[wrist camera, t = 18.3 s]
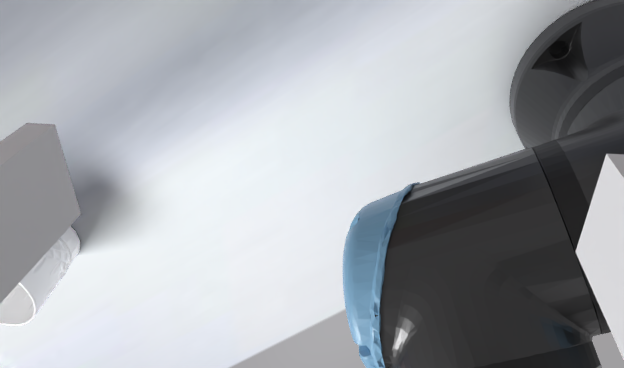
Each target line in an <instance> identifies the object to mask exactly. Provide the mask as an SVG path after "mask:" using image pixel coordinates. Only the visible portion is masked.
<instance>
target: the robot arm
mask: <svg viewBox="0 0 624 368" xmlns="http://www.w3.org/2000/svg"><path fill="white" fill-rule="evenodd" d="M510 112H511V118H512V121H513V124H514V127H515V129H516V132H517V134H518V136H519V138H520V140H521V142H522V144H523V146H524V147H525V149H524V150H521V151H518V152H515V153H512V154H509V155H506V156H503V157H500V158H497V159H494V160H491V161H488V162H485V163H482V164H479V165H476V166H473V167H470V168H467V169H464V170H461V171H458V172H455V173H452V174H449V175H446V176H443V177H440V178H437V179H434V180H431V181H428V182H425V183H421V184H420V183H419V182H418V183H413V184H410V185H408V186H407V187H405V188H404V189H403V190H401V191H399V192H397V193H394V194H392V195H389V196H387V197H384V198H382V199H379V200H377V201H374V202H371V203H369V204H368V205H366V206H365V207H363V208H362V209H361V210H360V211H359V212H358V213H357V215H356V216H355V218H354V220H353V222H352V223H351V226H350V230H349V232H348V234H347V237H346V241H345V247H344V254H343V289H344V299H345V307H346V313H347V318H348V323H349V327H350V331H351V334H352V337H353V340H354V342H355V343H356V344H358V345H359V356H360V358H361V360H362V361H363V363H364V365H365V366H366V368H602V366H601V364H600V361H599V359H598V356H597V353H596V350H595V348H594V345H593V342H592V337H593V336H596V335H600V334H604V333H609V332H611V333H612V335H613V337H614V339H615V341H616V344H617V346H618V348H619V351H620V353H621V355H622V357H623V359H624V0H595V1H592V2H590V3H587V4H585V5H582V6H580V7H578V8H576V9H574V10H572V11H570V12H569V13H567V14H565V15H564V16H562V17H561V18H559V19H558V20H556V21H555V22H554V23H552V24H551V25H550V26H549V27H548V28H546V29H545V30H544V31H543V32H542V33H541V34H540V35H539V36H538V37H537V38H536V39H535V41H534V42H533V43H532V44H531V45H530V47H529V48H528V50H527V51H526V52H525V54H524V56H523V57H522V59H521V61H520V63H519V65H518V67H517V69H516V72H515V74H514V77H513V81H512V85H511V90H510ZM80 215H81V212H80V208H79V205H78V202H77V198H76V195H75V191H74V188H73V185H72V181H71V178H70V174H69V171H68V167H67V164H66V161H65V157H64V154H63V150H62V147H61V144H60V140H59V137H58V133H57V130H56V126H55V124H37V123H26V124H25V125H23V126H22V127H21V128H19V129H18V130H16V131H15V132H13V133H12V134H11V135H9V136H8V137H6V138H5V139H3V140H2V141H1V142H0V303H1V302H2V301H3V300H4V299H5V298H6V297H7V296H8V294H9V293H10V292H11V291H12V290H13V289H14V288H15V287H16V286H17V285H18V283H19V282H20V281H21V280H22V279H23V278H24V277H25V276H26V275H27V274H28V272H29V271H30V270H31V269H32V268H33V267H34V266H35V265H36V264H37V263H38V261H39V260H40V259H41V258H42V257H43V256H44V255H45V254H46V253H47V252H48V250H49V249H50V248H51V247H52V246H53V245H54V244H55V243H56V242H57V240H58V239H59V238H60V237H61V236H62V235H63V234H64V233H65V232H66V231H67V229H68V228H69V227H70V226H71V225H72V224H73V223H74V222H75V221H76V220H77V218H78V217H79V216H80Z"/></svg>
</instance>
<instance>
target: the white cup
mask: <svg viewBox="0 0 624 368" xmlns="http://www.w3.org/2000/svg"><path fill="white" fill-rule="evenodd" d="M79 251H80V240H79V238H78V236H77V233H76V231H75V230H74V229H73V228H72V227H71V226H70V227H69V228H68V229H67V231H66V232H65V233H64V234H63V235H62V236H61V237H60V238H59V239H58V240H57V242H56V243H55V244H54V245H53V246H52V247H51V248H50V249H49V250H48V252H47V253H46V254H45V255H44V256H43V257H42V258H41V259H40V260H39V261H38V263H37V264H36V265H35V266H34V267H33V268H32V269H31V270H30V271H29V272H28V274H27V275H26V276H25V277H24V278H23V279H22V280H21V281H20V282H19V283H18V285H17V286H16V287H15V288H14V289H13V290H12V291H11V292H10V293H9V294H8V296H7V297H6V298H5V299H4V300H3V301H2V302H1V303H0V324H4V325H9V326H20V325H25V324H27V323H29V322H31V321H32V320H33V319H34V317H35V316H36V315H37V313H38V312H39V310H40V309H41V307H42V306H43V305H44V303H45V302H46V300H47V299H48V298H49V296H50V295H51V293H52V292H53V291H54V289H55V288H56V286H57V285H58V284H59V282H60V280H61V279H62V278H63V276H64V275H65V273H66V272H67V269H68V267H69V266H70V264H71V263H72V261H73V260H74V259H75V257H76V256H77V255H78V253H79Z"/></svg>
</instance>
